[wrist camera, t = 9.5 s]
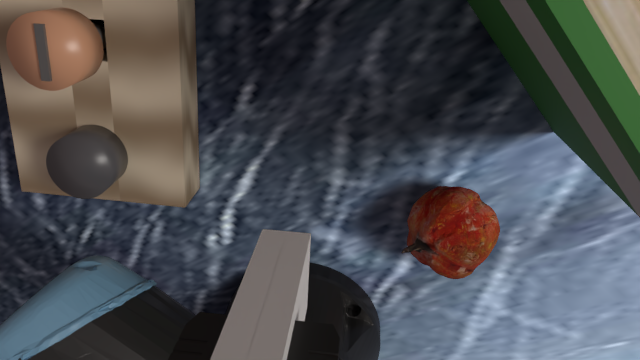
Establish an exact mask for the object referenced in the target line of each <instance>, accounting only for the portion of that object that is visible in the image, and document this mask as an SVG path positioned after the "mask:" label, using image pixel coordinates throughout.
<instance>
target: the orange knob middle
mask: <svg viewBox="0 0 640 360" xmlns="http://www.w3.org/2000/svg"><path fill="white" fill-rule="evenodd" d="M6 47H7V53H8V56H9V59H10V61H11V63H12V65H13V67H14V69H15V70H16V71H17V73H18V74H19V75H20V76H21V77H22V78H23V79H24V80H25V81H27V82H28V83H30V84H31V85H33V86H35V87H37V88H39V89H43V90H48V91H57V90H62V89H64V88H67V87H69V86H71V85H74V84H76V83H78V82H80V81H83V80H85V79H87V78H89V77H91V76H92V75H94V74H95V73H96V72H97V70H98V69H99V67H100V66H101V63H102V60H103V54H104V50H103V49H104V48H105V47H106V37H105V29H104V28H103V27H102V26H101V25H99V24H96V23H92V22H91V21H90V20H89V19H88V18H87V17H86V16H84V15H83V14H82V13H80V12H78V11H76V10H73V9H70V8H64V7H59V8H52V9H47V10H41V11H35V12H30V13H26V14H23V15H21V16H20V17H18V18H17V19H16V20H15V21H14V22H13V23H12V24H11V26H10V28H9V30H8V33H7V39H6Z"/></svg>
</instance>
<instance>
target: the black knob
mask: <svg viewBox="0 0 640 360" xmlns="http://www.w3.org/2000/svg"><path fill="white" fill-rule="evenodd" d="M127 164H128V155H127V151H126V148H125V146H124V144H123V142H122V141H121V140H120V138H119V137H118V136H117V135H116V134H115V133H113V132H112V131H111V130H109V129H107V128H105V127H102V126H99V125H85V126H81V127H79V128H77V129H76V130H74V131H72V132H71V133H69V134H67V135H66V136H64V137H62V138H61V139H59V140H57V141H56V142H55V143H53V144H52V146H51V147H50V148H49V150H48V153H47V157H46V166H47V170H48V173H49V175H50V177H51V179H52V180H53V182H54V183H55V184H56V185H57V186H58V187H59V188H60V189H61V190H62V191H64V192H65V193H67V194H69V195H71V196H73V197H76V198H81V199H90V198H94V197H97V196H99V195H101V194H102V193H103V192H105V191H106V190H107V189H108V188H109V187H110V186H111V185H112V184H114V183H115V182H116V181H117V180H118V179H119V178H120V177H121V176H122V175H123V174H124V172H125V171H126V168H127Z"/></svg>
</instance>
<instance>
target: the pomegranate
mask: <svg viewBox="0 0 640 360" xmlns="http://www.w3.org/2000/svg"><path fill="white" fill-rule="evenodd" d="M407 222H408V227H409V233H408V238H407V246H408V247H406V248H404V249H403V251H402V253H405V252H411V254H412V255H413V256H414V257H416V259H417V260H418V261H419V262H421V263H423V264H425V265H428V266H430V267H431V268H432V269H433V270H434V271H435V272H436V273H438V274H440V275H442V276H445V277H447V278H452V279H460V278H464V277H466V276H468V275H470V274H471V273H472V272H473V271H474V269H475V268H476V267H477V266H478V265H480V264H481V263H482V262H483V261H484V260H485V259H486V258H487V257H488V255H489V254H490V253H491V251H492V249H493V248H494V246H495V244H496V242H497V240H498V236H499V232H500V226H499V223H498V219H497V216H496V213H495V212H494V210H493V209H492V208H491V207H490V206H488V205H487V204H485V203H484V202H482V201H481V200H480V196H479V195H478V194H477V193H476V192H474V191H472V190H470V189H466V188H463V187H448V186H439V187H436V188H434V189H432V190H430V191H428V192H426V193H425V194H424V195H423V196H422V197H421V198H419V199H418V200H417V202H416V203H415V204H414V205H413V207H412V209H411V211H410V215H409V217H408V220H407Z"/></svg>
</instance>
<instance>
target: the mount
mask: <svg viewBox="0 0 640 360" xmlns="http://www.w3.org/2000/svg"><path fill="white" fill-rule="evenodd" d="M59 7H64V8H70V9H73V10H76V11H78V12H80V13H82V14H83V15H84V16H86V17H87V18H88V19H89V20H90V21H91V19H95V20H104V26H105V37H106V48H107V51H104V54H103V60H102V63H101V66H100V67H99V69H98V70H97V72H96V73H95V74H94V75H92V76H91V77H89V78H87V79H85V80H83V81H80V82H78V83H76V84H74V85H71V86H69V87H67V88H64V89H62V90H57V91H48V90H43V89H39V88H37V87H35V86H33V85H31V84H30V83H28V82H27V81H25V80H24V79H23V78H22V77H21V76H20V75H19V74H18V73H17V71H16V70H15V69H14V67H13V65H12V63H11V61H10V59H9V56H8V53H7V47H6V39H7V33H8V30H9V28H10V26H11V24H12V23H13V22H14V21H15V20H16V19H17V18H18V17H20V16H21V15H23V14H26V13H30V12H35V11H41V10H47V9H52V8H59ZM0 66H1V71H2V77H3V83H4V89H5V95H6V101H7V107H8V113H9V119H10V125H11V130H12V136H13V142H14V148H15V154H16V160H17V166H18V172H19V178H20V183H21V189H22V191H25V192H35V193H45V194H55V195H65V196H71V195H69V194H67V193H65V192H64V191H62V190H61V189H60V188H59V187H58V186H57V185H56V184H55V183H54V182H53V180H52V179H51V177H50V175H49V173H48V170H47V166H46V157H47V153H48V150H49V148H50V147H51V146H52V144H53V143H55V142H56V141H57V140H59V139H61V138H62V137H64V136H66V135H67V134H69V133H71V132H72V131H74V130H76V129H77V128H79V127H81V126H85V125H99V126H102V127H105V128H107V129H109V130H111V131H112V132H113V133H115V134H116V135H117V136H118V137H119V138H120V140H121V141H122V142H123V144H124V146H125V148H126V151H127V155H128V164H127V168H126V171H125V172H124V174H123V175H122V176H121V177H120V178H119V179H118V180H117V181H116V182H115V183H114V184H112V185H111V186H110V187H109V188H108V189H107V190H106V191H105V192H103V193H102V194H101V195H99V196H97V197H94V198H96V199H106V200H116V201H126V202H136V203H146V204H156V205H166V206H176V207H186V206H187V204H188V203H189V202H190V200H191V199H192V198H193V196H194V195H195V194H196V192H197V191H198V190H199V188H200V181H199V143H198V105H197V66H196V28H195V0H0Z"/></svg>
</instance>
